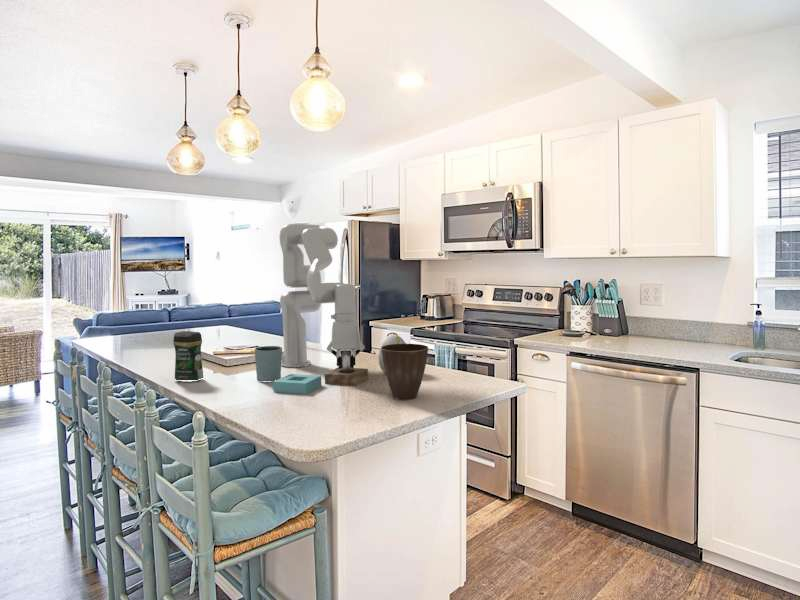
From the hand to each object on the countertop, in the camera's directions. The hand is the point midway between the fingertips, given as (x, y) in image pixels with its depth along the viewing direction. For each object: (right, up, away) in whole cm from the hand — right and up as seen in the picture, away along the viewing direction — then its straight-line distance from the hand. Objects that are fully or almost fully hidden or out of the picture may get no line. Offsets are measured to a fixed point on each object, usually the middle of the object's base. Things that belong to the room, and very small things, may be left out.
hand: (346, 367), depth 184 cm
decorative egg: (+18, -4, +13) cm, 22 cm away
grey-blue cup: (-29, -5, +3) cm, 30 cm away
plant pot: (+21, -6, -24) cm, 33 cm away
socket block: (-15, -6, -11) cm, 20 cm away
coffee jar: (-59, -6, +4) cm, 59 cm away
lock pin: (0, -4, 0) cm, 4 cm away
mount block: (0, -5, 0) cm, 5 cm away
